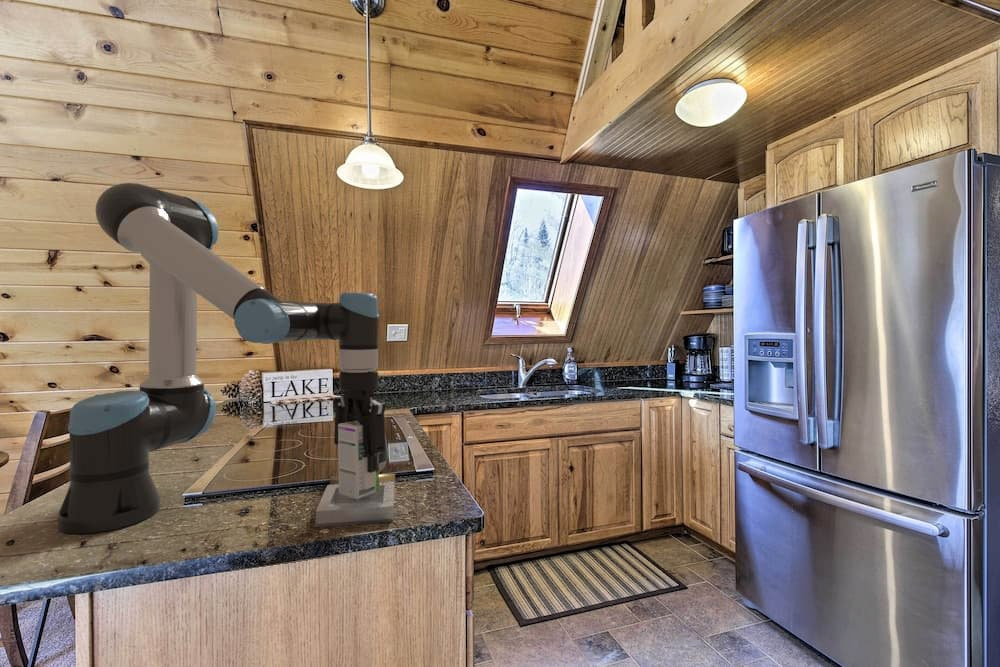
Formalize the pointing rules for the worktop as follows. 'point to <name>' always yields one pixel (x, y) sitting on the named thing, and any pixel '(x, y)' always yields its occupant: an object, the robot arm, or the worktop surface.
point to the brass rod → (381, 479)
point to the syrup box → (352, 461)
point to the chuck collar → (355, 507)
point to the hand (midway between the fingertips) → (358, 483)
